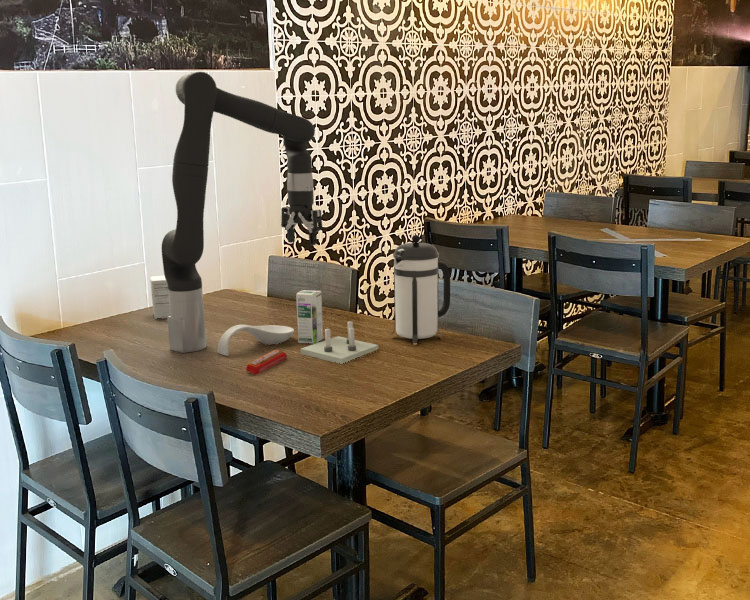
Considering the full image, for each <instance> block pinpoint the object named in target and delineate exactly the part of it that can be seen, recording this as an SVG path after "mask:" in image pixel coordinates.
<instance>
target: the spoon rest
mask: <svg viewBox="0 0 750 600" xmlns="http://www.w3.org/2000/svg"><path fill="white" fill-rule="evenodd" d="M240 331H241V332H242V331H246V332H248V333H249V334H250V335H252V336H253V337H254V339H256V340H258V341H259V342H260V343H261V344H262V345H266V344H268V345H269V346H271V344H275V345H279V343H280V344H282V342H283V343H284V342H286V341H288V340H289V339H290V338H291V337H292V336H293V334H294V332H295V329H294V328H293V327H291V326H286V325H275V324H274V325H271V324H270V325H269V324H268V325H249V324H237V325H233V326H231V327H229V328H228V329H227V330H225V331H224V333H223V334H222V335H221V337H220V339H219V341H218V344H217V348H216V349H217V352H216V353H218V354H219V355H222V356H227V357H228V356H229V354H230V353H229V352H230V351H229V346H230V341H231V340H232V338H233V337H234V335H236V334H237V333H238V332H240Z"/></svg>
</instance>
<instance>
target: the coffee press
mask: <svg viewBox="0 0 750 600" xmlns="http://www.w3.org/2000/svg"><path fill="white" fill-rule="evenodd" d="M411 240H412V242H407V243H403V244H400V245H398V246H397V247H396V248H395V251H394V252H393V253H392V257H393V260H394V261H393V286H394V287H393V290H394V291H393V293H394V295H393V298H394V299H393V300H394V301H393V302H394V304H393V305H394V306H393V307H394V330H393V331H392V333H391V335H393V334H394V333H395V332H396V333H397V335H396V336H397V337H399V336H400V337H402V338H406V339H412V344H413V343H417V341H418V342H419V339H420V340H422V339H428V338H431V337H435V336H436V334H437V332H438V333H439V334H440V335H441V337H442V336H443V337H444V335H443V333H442V332H441V330H440V327H439V325H440V319H439V318H441V317H443V316H444V315H446V313H447V312H448V310H449V308H450V304H451V274H450V269H449V267H448V266H447V264H445V263H443V262H439V261H438V260H439V257H440V253H439V252H438V250H437V248H436V246H435V245H433V244H430V243H426V242H420V240H421V237H420V236H419V235H417V234H414V235H412V238H411ZM439 270H440V271H441V272H442V274H443V275H442V277H443V303H442V307H441V308H439V302H440V301H439V298H440V296H439V284H440V283H439V280H440V279H439ZM439 309H440V310H439ZM391 335H390V336H391Z"/></svg>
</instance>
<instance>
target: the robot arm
mask: <svg viewBox="0 0 750 600" xmlns="http://www.w3.org/2000/svg"><path fill="white" fill-rule="evenodd" d="M175 94H176V97H177V98H178V100H179V102H181V103H182V104H183V105H184V113H183V115H184V116H183V118H184V119H183V125H182V130H181V133H180V135H179V138H178V140H177V143H176V148H175V151H174V156H173V164H172V174H171V180H172V181H171V182H172V189H173V194H174V195H173V196H174V199H175V203H176V210H177V211H176V212H177V213H176V214H177V215H176V227H175V229H172V230H170V231H168V232H167V233H166V234H165V235H164V236H163V239H162V241H161V260H162V267H163V274H164V275H165V279H166V281H167V284H168V294H169V306H170V316H168V317H167V318H166V319H167V332H168V341H169V343H168V344H169V350H171V351H175V352H179V353H182V354H185V353H193V352H198V351H201V350H203V349H206V348H207V337H206V335H207V333H206V322H205V307H204V297H203V295H204V294H203V280H202V277H201V275H200V274H199V272H198V269H197V267H196V266H197V265H196V264H197V263H198V262H199V261H200V259H201V258H202V256H203V253H204V248H205V247H204V246H205V245H204V243H205V241H204V240H205V239H204V237H205V236H204V234H205V232H204V212H205V204H206V194H207V184H208V174H209V164H210V163H209V160H210V146H211V128H212V121H213V117H214V113H217V114H221V115H223V116H226V117H229V118H232V119H234V120H236V121H239V122H241V123H244V124H246V125H249V126H251V127H253V128H256V129H258V130H260V131H261V130H262V132H263V131H264V132H267V133H270V134H275V135H279V136H282V140H283V144H284V149H285V153H286V157H287V163H286V164H287V179H286V183H287V205H288V206H284V207H281V216H280V218H281V219H280V220H281V222H280V223H281V224H280V225H281V227H282V228H284V229H285V230H286V240H287V242H288V244H290V243H295V241H296V236H295V235H296V234H295V233H296V230H295V228H296V226H297V225H298V224H300V225H301V224H302V225H304V227H306V228H307V230H308V232H309V233H308V245H309V246H316V245H317V243H318V240H317V239H318V237H317V235H318V234H317V233H318V232H320V231H322V230H323V220H322V210H321V209H316V210H314V209H313V205H314V203H315V202H314V199H315V198H314V177H313V164H312V163H313V161H312V156H311V154H310V153H309V152H308V150H307V144H306V143H309V142H311V141H312V140H313V139H314V137H315V132H316V130H315V126H314V124H313V123H312V122H311V121H310V120H309V119H307V118H305V117H303V116H298V115H296V114H293V113H290V112H286V111H282V110H281V109H278V108H276V107H273V106H271V105H269V104H266V103H264V102H263V101H258V100H255V99H253V98H248V97H245V96H240V95H237V94H233V93H230V92H228V91H227V90H226V91H225V90H223V89H222V88H219V87H217V84H216V81H215V79H214V78H213V77H212V76H211V74H209V73H207V72H205V71H194V72H189V73H188V72H187V73H186V74H183V75H182V76H180V77H179V79H178V80H177V81H176V84H175ZM164 275H163V276H164Z"/></svg>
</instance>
